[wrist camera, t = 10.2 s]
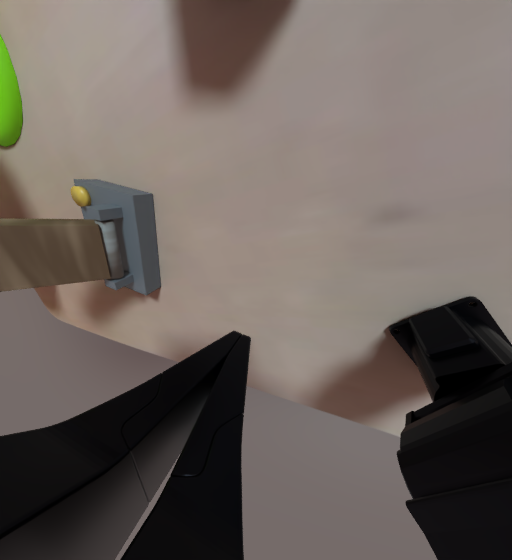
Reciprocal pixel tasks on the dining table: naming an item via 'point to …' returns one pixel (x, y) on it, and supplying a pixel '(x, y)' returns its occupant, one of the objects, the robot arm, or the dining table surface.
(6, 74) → the wineglass
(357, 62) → the dining table surface
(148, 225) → the blue-grey base plate
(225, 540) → the robot arm
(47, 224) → the toggle lever
